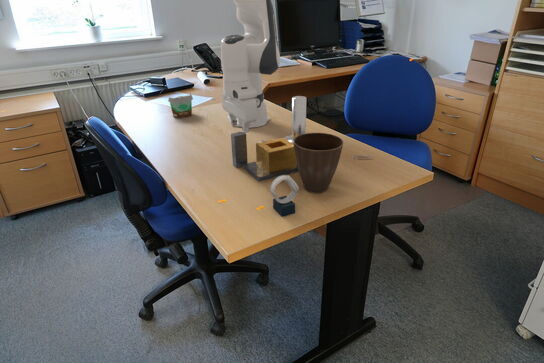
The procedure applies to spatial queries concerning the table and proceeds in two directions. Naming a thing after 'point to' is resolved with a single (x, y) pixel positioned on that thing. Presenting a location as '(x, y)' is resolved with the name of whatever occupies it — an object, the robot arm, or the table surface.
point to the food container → (181, 106)
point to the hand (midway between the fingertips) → (239, 128)
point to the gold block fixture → (280, 148)
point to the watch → (284, 203)
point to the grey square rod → (239, 149)
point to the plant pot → (317, 159)
